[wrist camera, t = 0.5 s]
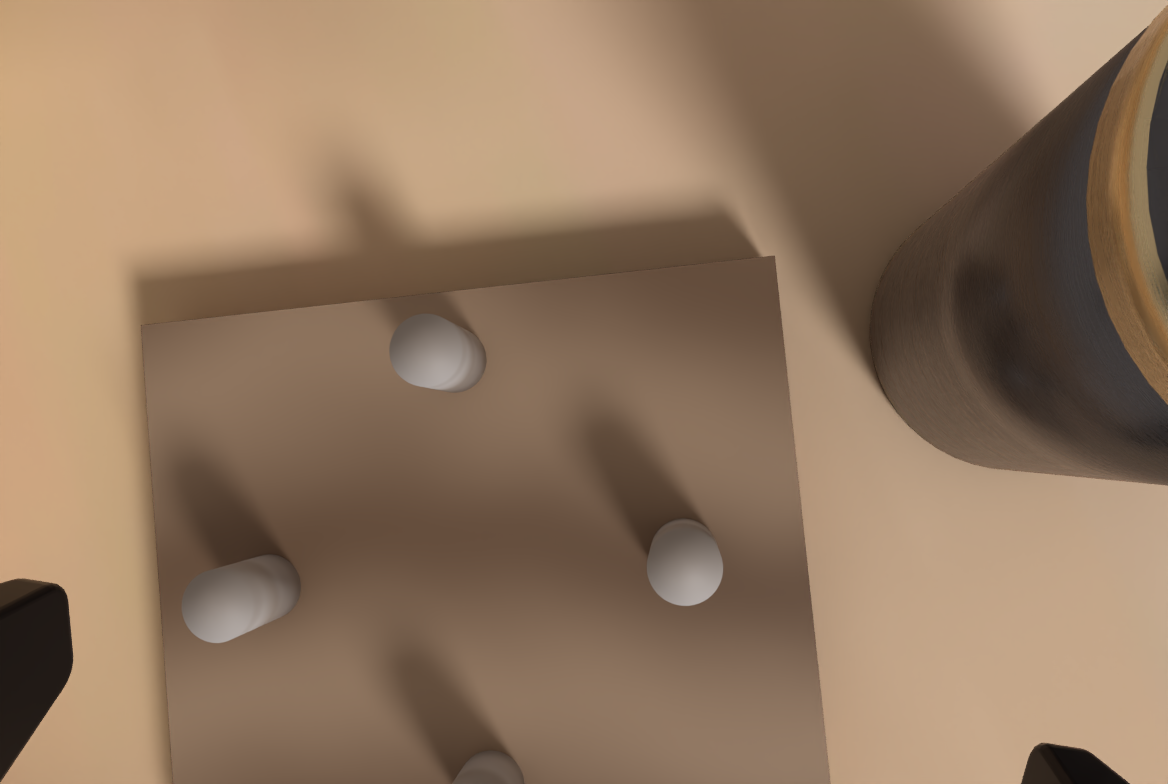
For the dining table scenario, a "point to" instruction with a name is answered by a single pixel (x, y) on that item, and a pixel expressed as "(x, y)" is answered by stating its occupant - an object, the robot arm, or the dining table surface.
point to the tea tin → (1046, 291)
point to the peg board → (487, 537)
